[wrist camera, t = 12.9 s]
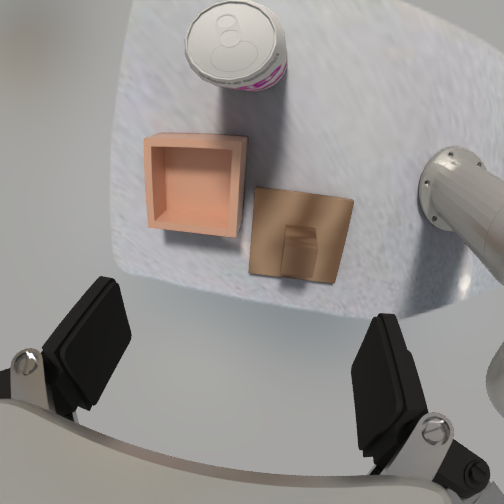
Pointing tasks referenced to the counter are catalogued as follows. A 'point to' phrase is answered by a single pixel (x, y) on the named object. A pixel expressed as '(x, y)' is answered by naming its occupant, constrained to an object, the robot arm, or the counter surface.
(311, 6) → the counter surface
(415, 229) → the counter surface
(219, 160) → the dish
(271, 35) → the supplement can
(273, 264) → the lid
